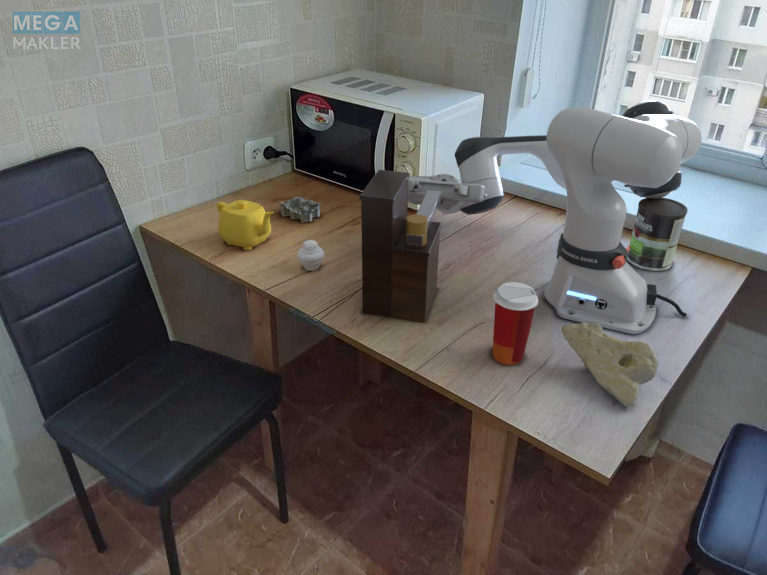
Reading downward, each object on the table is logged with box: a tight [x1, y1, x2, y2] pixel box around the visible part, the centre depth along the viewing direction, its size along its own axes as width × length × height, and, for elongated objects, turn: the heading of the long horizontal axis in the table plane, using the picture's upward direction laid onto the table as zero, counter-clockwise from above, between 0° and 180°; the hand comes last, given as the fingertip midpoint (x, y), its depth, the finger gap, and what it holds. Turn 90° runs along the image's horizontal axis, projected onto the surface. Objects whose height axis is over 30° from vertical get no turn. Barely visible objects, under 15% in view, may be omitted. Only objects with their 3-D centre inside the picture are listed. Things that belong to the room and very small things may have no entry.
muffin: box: [296, 239, 325, 272], centre depth 139 cm, size 6×6×7 cm
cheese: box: [561, 322, 660, 408], centre depth 107 cm, size 15×7×15 cm
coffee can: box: [626, 197, 689, 272], centre depth 141 cm, size 10×10×14 cm
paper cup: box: [492, 281, 539, 366], centre depth 110 cm, size 8×8×14 cm
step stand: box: [359, 169, 443, 323], centre depth 122 cm, size 14×13×26 cm
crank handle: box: [406, 190, 441, 248], centre depth 124 cm, size 22×4×5 cm, turn 166°
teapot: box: [216, 199, 275, 251], centre depth 149 cm, size 18×11×11 cm, turn 59°
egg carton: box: [277, 196, 323, 224], centre depth 164 cm, size 11×8×4 cm
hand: (436, 186), depth 134 cm, fingers open, 8 cm apart
